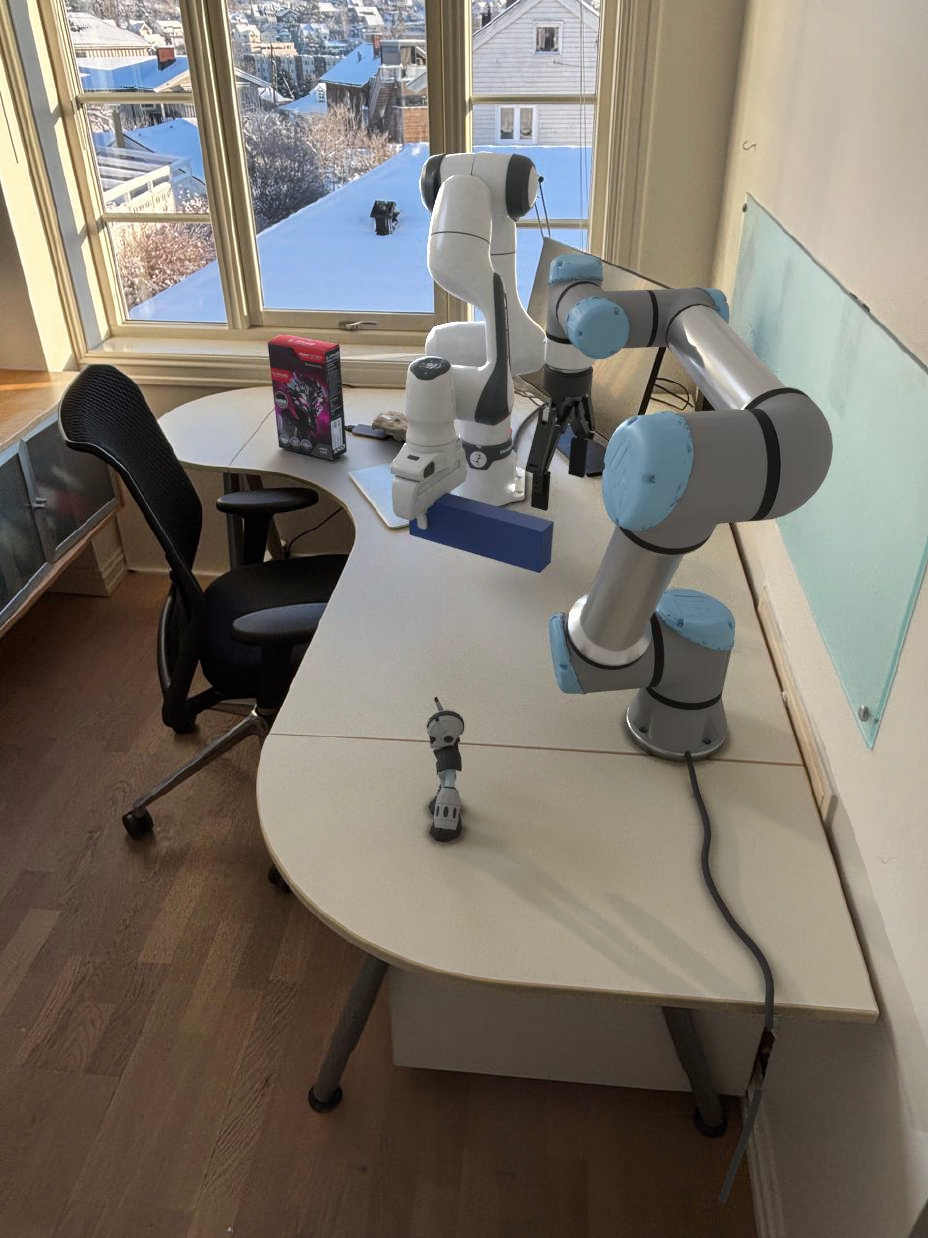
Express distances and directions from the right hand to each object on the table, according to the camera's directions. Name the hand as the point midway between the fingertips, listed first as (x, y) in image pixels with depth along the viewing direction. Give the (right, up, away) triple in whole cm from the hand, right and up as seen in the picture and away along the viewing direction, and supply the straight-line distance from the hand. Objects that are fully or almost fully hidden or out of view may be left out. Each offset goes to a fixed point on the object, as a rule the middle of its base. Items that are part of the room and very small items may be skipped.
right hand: (558, 491), depth 151 cm
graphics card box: (-53, +21, +80) cm, 98 cm away
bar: (-13, -8, +18) cm, 24 cm away
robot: (-18, -49, -24) cm, 57 cm away
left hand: (-21, -3, +21) cm, 30 cm away
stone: (-30, +25, +86) cm, 94 cm away
